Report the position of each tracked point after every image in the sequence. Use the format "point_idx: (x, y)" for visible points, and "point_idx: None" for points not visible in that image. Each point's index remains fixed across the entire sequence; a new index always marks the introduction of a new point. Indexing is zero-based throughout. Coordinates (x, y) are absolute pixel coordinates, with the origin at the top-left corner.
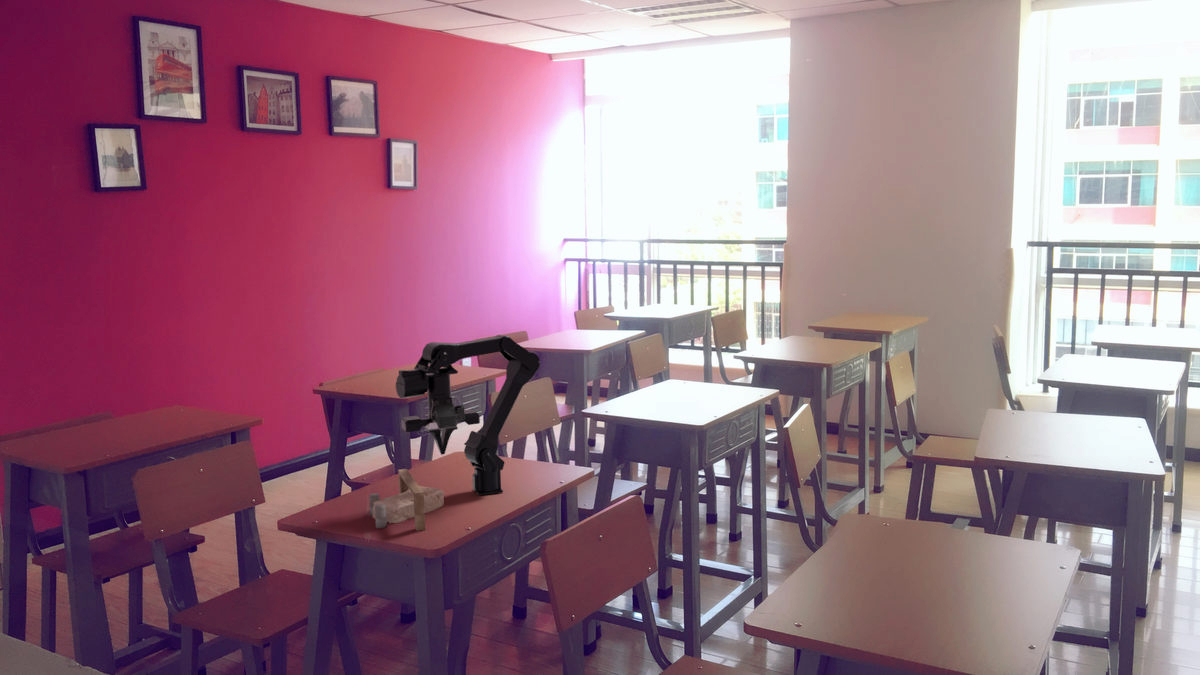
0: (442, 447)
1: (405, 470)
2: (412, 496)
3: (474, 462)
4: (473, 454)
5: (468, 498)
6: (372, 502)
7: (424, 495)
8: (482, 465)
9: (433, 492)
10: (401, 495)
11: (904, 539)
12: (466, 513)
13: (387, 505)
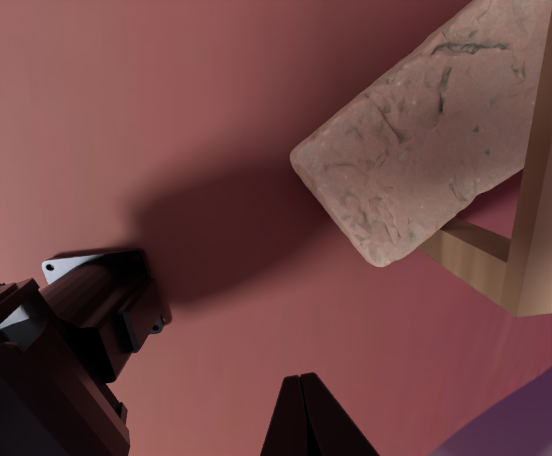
0: (318, 434)
1: (536, 281)
2: (452, 120)
3: (81, 367)
4: (28, 387)
5: (186, 230)
6: None
7: (397, 107)
8: (31, 319)
9: (348, 135)
10: (494, 154)
11: None
12: (202, 4)
13: None
